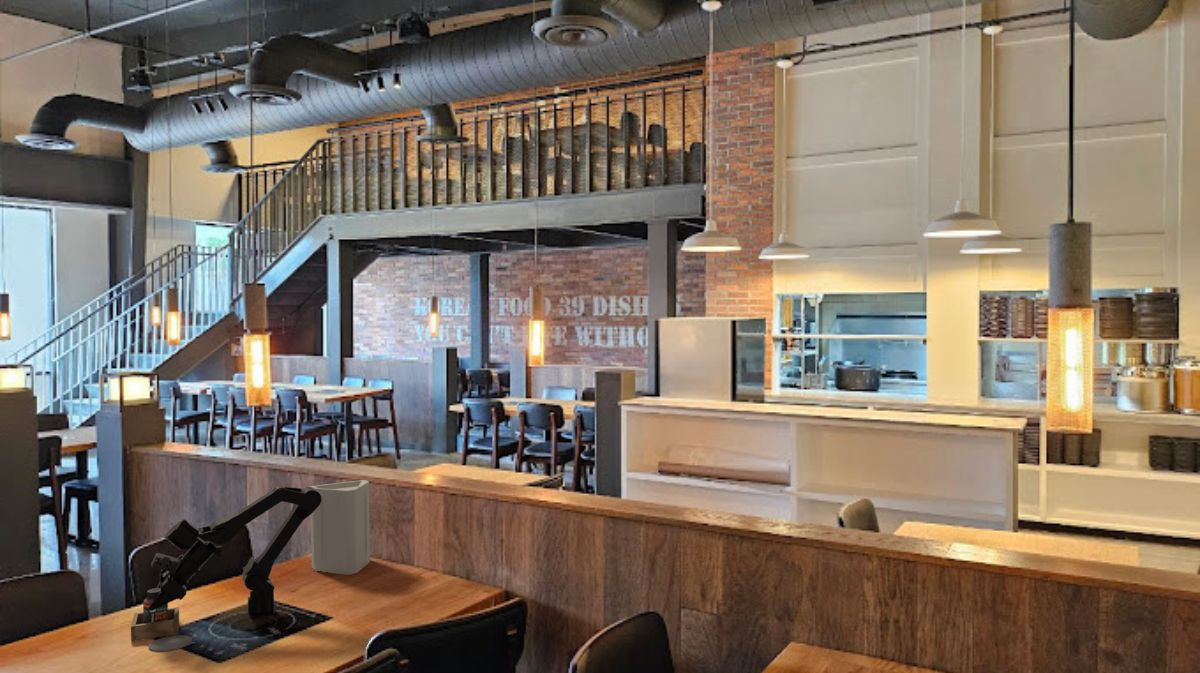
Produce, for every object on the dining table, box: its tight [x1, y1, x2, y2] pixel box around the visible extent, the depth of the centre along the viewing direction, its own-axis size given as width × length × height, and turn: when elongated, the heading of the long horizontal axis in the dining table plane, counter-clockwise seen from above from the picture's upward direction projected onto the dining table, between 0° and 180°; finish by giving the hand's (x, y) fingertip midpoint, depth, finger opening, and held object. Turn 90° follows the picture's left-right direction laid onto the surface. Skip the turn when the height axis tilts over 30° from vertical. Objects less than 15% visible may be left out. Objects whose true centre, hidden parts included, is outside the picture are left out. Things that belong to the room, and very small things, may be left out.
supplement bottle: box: [142, 587, 169, 624], centre depth 225 cm, size 6×6×11 cm
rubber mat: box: [148, 634, 193, 653], centre depth 216 cm, size 10×10×1 cm
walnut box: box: [130, 606, 180, 642], centre depth 225 cm, size 11×11×4 cm
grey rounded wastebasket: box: [309, 479, 371, 576], centre depth 280 cm, size 19×15×28 cm
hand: (149, 606), depth 225 cm, fingers closed on supplement bottle, 6 cm apart
